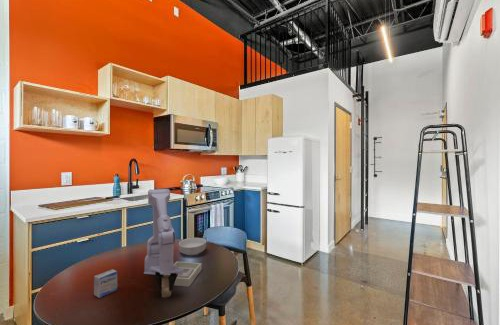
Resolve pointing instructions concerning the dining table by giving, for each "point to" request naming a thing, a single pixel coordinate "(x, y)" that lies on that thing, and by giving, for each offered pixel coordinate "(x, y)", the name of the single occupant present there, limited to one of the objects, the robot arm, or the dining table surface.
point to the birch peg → (165, 286)
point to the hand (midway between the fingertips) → (166, 289)
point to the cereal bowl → (192, 246)
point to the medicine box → (105, 283)
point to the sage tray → (187, 273)
